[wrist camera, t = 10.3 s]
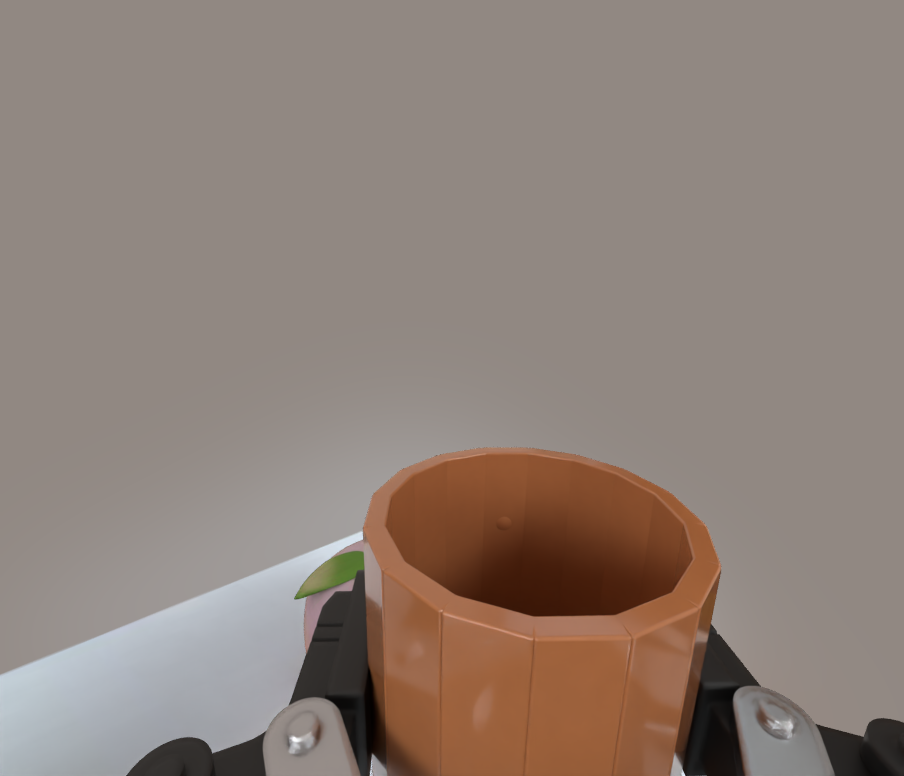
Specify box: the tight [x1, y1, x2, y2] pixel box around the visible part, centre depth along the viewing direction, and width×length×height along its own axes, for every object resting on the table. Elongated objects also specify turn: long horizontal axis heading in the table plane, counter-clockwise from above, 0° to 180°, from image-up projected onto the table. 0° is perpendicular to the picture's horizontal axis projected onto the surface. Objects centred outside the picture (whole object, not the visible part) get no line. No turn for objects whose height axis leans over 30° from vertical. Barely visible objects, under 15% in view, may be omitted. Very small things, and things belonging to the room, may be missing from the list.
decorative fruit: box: [294, 540, 365, 654], centre depth 26 cm, size 9×8×10 cm
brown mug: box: [363, 448, 721, 776], centre depth 11 cm, size 9×6×10 cm
